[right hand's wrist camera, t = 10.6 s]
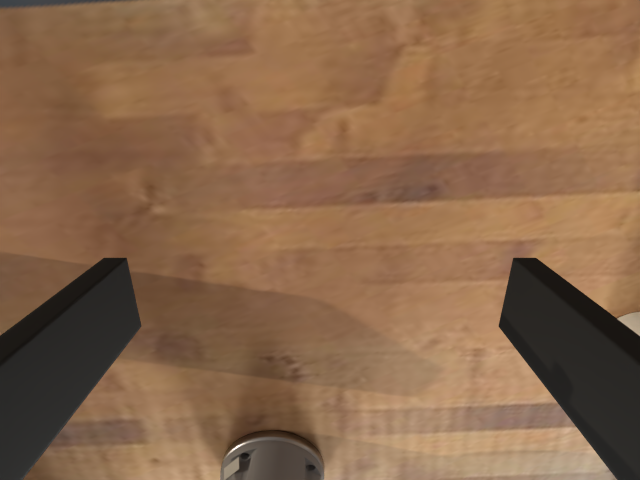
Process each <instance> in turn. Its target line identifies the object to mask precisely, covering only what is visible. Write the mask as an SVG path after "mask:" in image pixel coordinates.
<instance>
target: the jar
mask: <svg viewBox="0 0 640 480" xmlns="http://www.w3.org/2000/svg"><path fill="white" fill-rule="evenodd" d="M617 319H618V320H619V321H621V322H622V323H623V324H625V325H626V326H627V327H629V328H630V329H631V330H633V331H634V332H635V333H637V334H638V335H639V336H640V312H634V313H630V314H626V315H624V316H621V317H619V318H617Z"/></svg>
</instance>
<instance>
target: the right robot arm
mask: <svg viewBox="0 0 640 480" xmlns="http://www.w3.org/2000/svg"><path fill="white" fill-rule="evenodd" d="M140 327H141V322H140V318H139V313H138V308H137V304H136V299H135V294H134V290H133V285H132V281H131V276H130V271H129V267H128V262H127V258H103V259H102V260H101V261H99V262H98V263H97V264H95V265H94V266H93V267H91V268H90V269H89V270H87V271H86V272H85V273H83V274H82V275H81V276H79V277H78V278H77V279H75V280H74V281H73V282H71V283H70V284H69V285H67V286H66V287H65V288H63V289H62V290H61V291H59V292H58V293H57V294H55V295H54V296H53V297H51V298H50V299H49V300H47V301H46V302H45V303H43V304H42V305H41V306H39V307H38V308H37V309H35V310H34V311H33V312H31V313H30V314H29V315H27V316H26V317H25V318H23V319H22V320H21V321H19V322H18V323H17V324H15V325H14V326H13V327H11V328H10V329H9V330H7V331H6V332H5V333H3V334H2V335H1V336H0V480H23V478H24V477H25V476H26V475H27V473H28V472H29V471H30V469H31V468H32V467H33V466H34V464H35V463H36V462H37V460H38V459H39V458H40V457H41V455H42V454H43V453H44V451H45V450H46V449H47V447H48V446H49V445H50V444H51V442H52V441H53V440H54V438H55V437H56V436H57V435H58V433H59V432H60V431H61V429H62V428H63V427H64V426H65V424H66V423H67V422H68V420H69V419H70V418H71V417H72V415H73V414H74V413H75V411H76V410H77V409H78V407H79V406H80V405H81V404H82V402H83V401H84V400H85V398H86V397H87V396H88V395H89V393H90V392H91V391H92V389H93V388H94V387H95V386H96V384H97V383H98V382H99V380H100V379H101V378H102V376H103V375H104V374H105V373H106V371H107V370H108V369H109V367H110V366H111V365H112V364H113V362H114V361H115V360H116V358H117V357H118V356H119V355H120V353H121V352H122V351H123V349H124V348H125V347H126V346H127V344H128V343H129V342H130V340H131V339H132V338H133V336H134V335H135V334H136V333H137V331H138V330H139V329H140ZM499 327H500V329H501V330H502V331H503V333H504V334H505V335H506V336H507V338H508V339H509V340H510V342H511V343H512V344H513V346H514V347H515V348H516V349H517V351H518V352H519V353H520V355H521V356H522V357H523V358H524V360H525V361H526V362H527V364H528V365H529V366H530V367H531V369H532V370H533V371H534V373H535V374H536V375H537V376H538V378H539V379H540V380H541V382H542V383H543V384H544V386H545V387H546V388H547V389H548V391H549V392H550V393H551V395H552V396H553V397H554V398H555V400H556V401H557V402H558V404H559V405H560V406H561V407H562V409H563V410H564V411H565V413H566V414H567V415H568V417H569V418H570V419H571V420H572V422H573V423H574V424H575V426H576V427H577V428H578V429H579V431H580V432H581V433H582V435H583V436H584V437H585V438H586V440H587V441H588V442H589V444H590V445H591V446H592V447H593V449H594V450H595V451H596V453H597V454H598V455H599V457H600V458H601V459H602V460H603V462H604V463H605V464H606V466H607V467H608V468H609V469H610V471H611V472H612V473H613V475H614V476H615V477H616V478H617V480H640V336H639V335H638V334H637V333H635V332H634V331H633V330H631V329H630V328H629V327H627V326H626V325H625V324H623V323H622V322H621V321H619V320H618V319H617V318H615V317H614V316H613V315H611V314H610V313H609V312H607V311H606V310H605V309H603V308H602V307H601V306H599V305H598V304H597V303H595V302H594V301H593V300H591V299H590V298H589V297H587V296H586V295H585V294H583V293H582V292H581V291H579V290H578V289H577V288H575V287H574V286H573V285H571V284H570V283H569V282H567V281H566V280H565V279H563V278H562V277H561V276H559V275H558V274H557V273H555V272H554V271H553V270H551V269H550V268H549V267H547V266H546V265H545V264H543V263H542V262H541V261H539V260H538V259H537V258H513V262H512V267H511V271H510V276H509V281H508V285H507V290H506V294H505V299H504V304H503V308H502V313H501V318H500V322H499ZM220 480H324V463H323V459H322V457H321V455H320V453H319V452H318V450H317V449H316V448H315V447H314V446H313V445H312V444H311V443H309V442H308V441H306V440H305V439H303V438H301V437H299V436H296V435H294V434H290V433H286V432H281V431H261V432H256V433H252V434H249V435H246V436H244V437H242V438H240V439H238V440H237V441H235V442H234V443H233V444H232V445H231V446H230V447H229V448H228V450H227V451H226V453H225V456H224V459H223V463H222V467H221V475H220Z"/></svg>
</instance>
